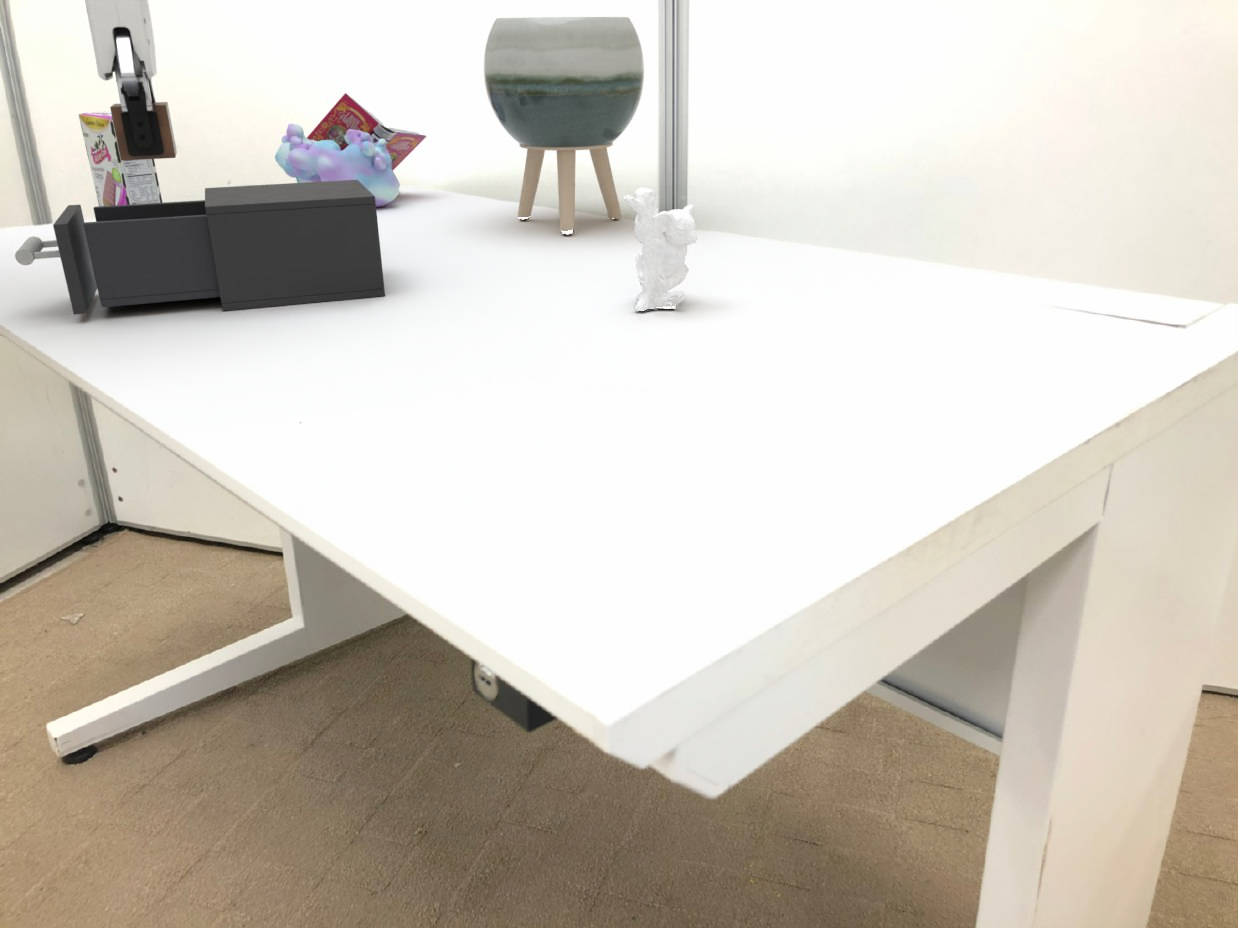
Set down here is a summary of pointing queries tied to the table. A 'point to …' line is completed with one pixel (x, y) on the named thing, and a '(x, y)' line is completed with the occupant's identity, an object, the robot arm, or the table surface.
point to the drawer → (132, 254)
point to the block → (165, 132)
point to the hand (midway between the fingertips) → (148, 150)
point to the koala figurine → (660, 249)
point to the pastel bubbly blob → (348, 150)
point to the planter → (564, 96)
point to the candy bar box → (116, 166)
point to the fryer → (294, 243)
